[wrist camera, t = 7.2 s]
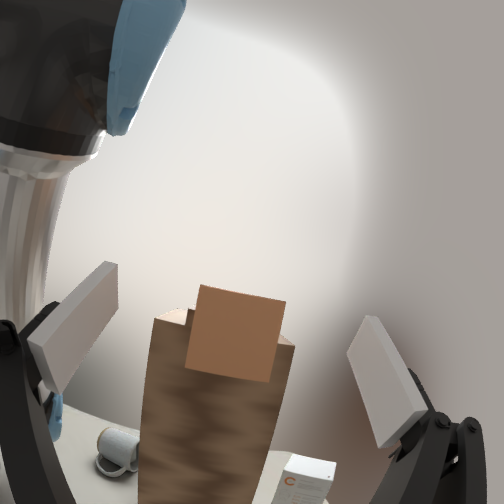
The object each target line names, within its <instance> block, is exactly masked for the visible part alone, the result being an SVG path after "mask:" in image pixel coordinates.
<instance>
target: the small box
mask: <svg viewBox="0 0 504 504" xmlns="http://www.w3.org/2000/svg"><path fill="white" fill-rule="evenodd" d="M335 468H336V463H335V462H329V461H324V460H319V459H313V458H309V457H304V456H300V455H296V454H292V456H291V458H290V460H289V461H288V463H287V465H286V466H285V468H284V469H283V472H282V476H281V478H280V481H279V484H278V487H277V490H276V492H275V495H274V498H273V500H272V503H271V504H322V503H323V501H324V499H325V497H326V495H327V493H328V491H329V489H330V487H331V484H332V482H333V478H334V473H335Z"/></svg>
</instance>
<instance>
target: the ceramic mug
mask: <svg viewBox="0 0 504 504" xmlns="http://www.w3.org/2000/svg"><path fill="white" fill-rule="evenodd" d="M139 442H140V438H139V437H136V436H133V435H131V434H128V433H125V432H123V431H120V430H118V429H114V428H106V429H104V430H103V431H102V432H101V434H100V435H99V437H98V440H97V449H98V451H99V454H98V456H97V458H96V465H97V467H98V468H99V470H100V471H101V472H102V473H103V474H105V475H107V476H109V477H117V476H120V475H122V474H123V473H124V472H125V471H126V470H128V471H131V472H136V471H137V470H138V462H139ZM102 457H104V458H106V459H108V460H110V461H111V462H113V463H115V464H117V465H119V466H121V467H122V468H121V469H119V470H118V471H115V472H106V471H105V470H104V469H103V468H102V467H101V466H100V461H101V459H102Z"/></svg>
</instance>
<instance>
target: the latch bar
mask: <svg viewBox="0 0 504 504" xmlns="http://www.w3.org/2000/svg"><path fill="white" fill-rule="evenodd" d="M285 304H286V302H285V301H280V300H275V299H269V298H265V297H260V296H254V295H249V294H245V293H240V292H235V291H230V290H225V289H220V288H216V287H211V286H205V285H200V288H199V294H198V298H197V303H196V308H195V313H194V319H193V324H192V329H191V335H190V340H189V346H188V351H187V357H186V363H185V368H189V369H193V370H198V371H202V372H207V373H212V374H217V375H223V376H228V377H234V378H240V379H246V380H253V381H260V382H267V383H269V380H270V375H271V371H272V366H273V362H274V357H275V353H276V348H277V344H278V339H279V334H280V329H281V325H282V320H283V315H284V310H285Z"/></svg>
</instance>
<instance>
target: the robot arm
mask: <svg viewBox="0 0 504 504" xmlns="http://www.w3.org/2000/svg"><path fill="white" fill-rule="evenodd" d="M185 7H186V0H0V447H1V452H2V457H3V461H4V466H5V470H6V474H7V477H8V481H9V485H10V488H11V491H12V494H13V497H14V500H15V503H16V504H76V502H75V499H74V497H73V495H72V493H71V491H70V488H69V486H68V484H67V481H66V479H65V476H64V474H63V471H62V468H61V466H60V463H59V460H58V457H57V454H56V451H55V448H54V445H53V442H55V441H57V440H58V439H59V437H60V434H61V428H62V418H61V417H62V409H63V401H62V400H63V399H62V398H63V397H62V392H63V390H64V389H65V387H66V385H67V384H68V382H69V381H70V379H71V378H72V376H73V374H74V373H75V371H76V370H77V368H78V367H79V365H80V363H81V362H82V360H83V359H84V357H85V356H86V354H87V353H88V351H89V350H90V348H91V347H92V345H93V344H94V342H95V341H96V339H97V338H98V337H99V335H100V334H101V332H102V331H103V329H104V328H105V326H106V325H107V324H108V322H109V321H110V319H111V318H112V317H113V315H114V314H115V312H116V311H117V310H118V283H117V282H118V281H117V280H118V275H117V272H118V271H117V270H118V269H117V268H118V267H117V264H115V263H111V262H107V261H104V262H103V263H102V264H101V265H100V266H99V267H98V268H96V269H95V270H94V271H93V272H92V273H91V274H90V275H89V276H88V277H87V278H86V279H85V280H84V281H83V282H81V283H80V284H79V285H78V286H77V287H76V288H75V289H74V290H73V291H72V292H71V293H70V294H69V295H68V296H67V297H66V298H65V299H64V300H63V301H62V302H61V303H59V302H56V301H54V302H52V303H50V304H48V305H46V306H45V307H44V308H43V298H44V289H45V280H46V273H47V266H48V260H49V254H50V248H51V243H52V238H53V233H54V229H55V224H56V220H57V216H58V212H59V208H60V204H61V201H62V197H63V194H64V190H65V186H66V183H67V180H68V177H69V174H70V172H71V171H72V170H73V169H74V168H75V167H77V166H79V165H81V164H82V163H84V162H86V161H88V160H90V159H92V158H94V157H95V156H96V155H97V153H98V150H99V148H100V146H101V143H102V141H103V139H104V136H105V134H106V133H108V134H110V135H112V136H116V135H120V136H122V135H125V134H126V133H127V132H128V131H129V129H130V127H131V125H132V123H133V120H134V117H135V115H136V113H137V110H138V107H139V104H140V102H141V101H142V99H143V97H144V95H145V93H146V91H147V88H148V86H149V84H150V82H151V79H152V77H153V75H154V73H155V71H156V69H157V66H158V64H159V62H160V60H161V58H162V56H163V53H164V52H165V50H166V48H167V46H168V43H169V41H170V39H171V37H172V35H173V33H174V31H175V29H176V27H177V25H178V23H179V21H180V19H181V17H182V15H183V13H184V10H185ZM347 356H348V359H349V361H350V364H351V367H352V370H353V372H354V375H355V378H356V381H357V384H358V387H359V390H360V393H361V396H362V398H363V401H364V404H365V407H366V410H367V413H368V417H369V420H370V423H371V426H372V429H373V432H374V435H375V439H376V442H377V445H378V448H385V447H391V446H393V445H394V444H395V443H396V442H397V441H398V440H399V439H400V441H401V445H400V446H399V447H398V448H397V449H396V450H395V451H394V452H393V453H392V454H390V455H389V457H388V458H391V457H392V456H393V455H395V456H394V458H393V460H392V462H391V464H390V466H389V468H388V470H387V472H386V474H385V476H384V478H383V480H382V482H381V484H380V486H379V488H378V489H377V491H376V493H375V495H374V496H373V498H372V500H371V502H370V503H369V504H487V479H486V462H485V451H484V442H483V435H482V429H481V425H480V424H479V422H478V421H477V420H476V419H475V418H472V417H467V418H465V420H463V421H462V422H461V423H460V424H458V423H452V422H451V420H450V419H449V418H448V416H447V415H445V414H444V413H441V412H436V411H435V409H434V407H433V406H432V404H431V402H430V400H429V398H428V396H427V394H426V392H425V391H424V388H423V386H422V385H421V382H420V381H419V379H418V377H417V375H416V374H415V373H414V372H413V371H412V370H411V369H409V368H407V367H406V365H405V364H404V362H403V360H402V358H401V356H400V354H399V353H398V351H397V349H396V347H395V346H394V344H393V342H392V340H391V339H390V337H389V335H388V334H387V332H386V330H385V329H384V327H383V325H382V323H381V322H380V320H379V318H378V317H376V316H369V315H366V316H365V318H364V320H363V322H362V324H361V326H360V328H359V330H358V332H357V334H356V336H355V338H354V340H353V342H352V344H351V346H350V348H349V349H348V351H347ZM456 456H458V461H457V462H456V463H454V458H455V457H456Z"/></svg>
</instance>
